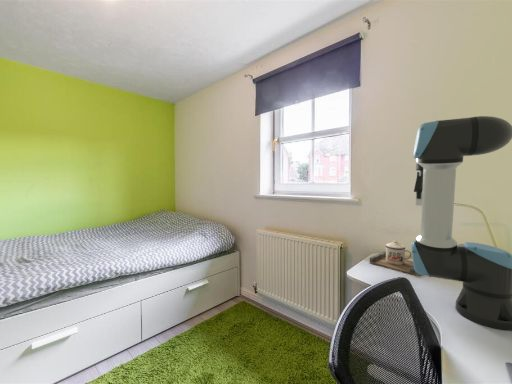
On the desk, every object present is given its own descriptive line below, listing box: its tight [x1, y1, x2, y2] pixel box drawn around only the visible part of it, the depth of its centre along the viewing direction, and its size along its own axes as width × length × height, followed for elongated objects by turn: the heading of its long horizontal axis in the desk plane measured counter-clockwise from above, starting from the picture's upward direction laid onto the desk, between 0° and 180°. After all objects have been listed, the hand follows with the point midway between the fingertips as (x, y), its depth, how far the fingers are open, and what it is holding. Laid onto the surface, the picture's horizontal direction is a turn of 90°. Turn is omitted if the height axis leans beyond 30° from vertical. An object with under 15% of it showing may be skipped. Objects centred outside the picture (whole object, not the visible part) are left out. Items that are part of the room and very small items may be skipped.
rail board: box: [369, 251, 417, 276], centre depth 125 cm, size 18×21×3 cm
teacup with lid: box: [385, 240, 413, 265], centre depth 125 cm, size 12×9×12 cm
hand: (424, 204), depth 119 cm, fingers open, 13 cm apart
